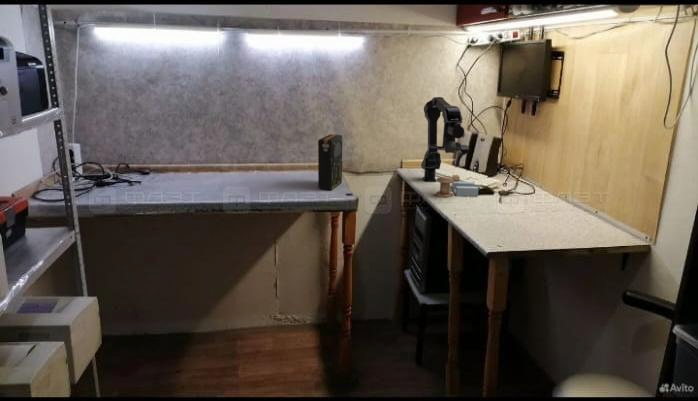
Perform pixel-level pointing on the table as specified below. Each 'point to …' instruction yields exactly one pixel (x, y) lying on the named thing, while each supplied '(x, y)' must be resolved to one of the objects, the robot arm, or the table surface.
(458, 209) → the table surface
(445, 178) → the tan door knob
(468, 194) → the bracket
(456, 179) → the brown wooden block
